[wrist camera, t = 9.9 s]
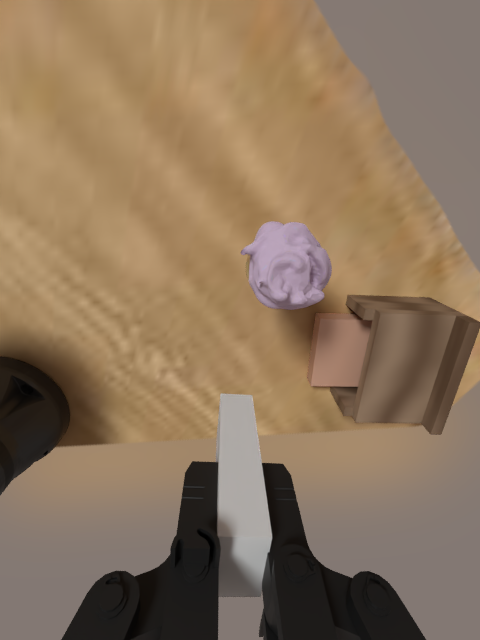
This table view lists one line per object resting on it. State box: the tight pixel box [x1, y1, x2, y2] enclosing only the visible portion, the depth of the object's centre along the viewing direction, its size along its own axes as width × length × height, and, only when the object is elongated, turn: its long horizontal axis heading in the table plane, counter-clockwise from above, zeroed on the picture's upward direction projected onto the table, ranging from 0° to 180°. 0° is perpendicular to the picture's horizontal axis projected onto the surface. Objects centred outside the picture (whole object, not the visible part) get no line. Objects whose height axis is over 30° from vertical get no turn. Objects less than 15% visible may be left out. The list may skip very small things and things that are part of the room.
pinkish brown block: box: [307, 313, 373, 387], centre depth 38 cm, size 12×9×2 cm
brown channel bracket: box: [330, 295, 480, 435], centre depth 35 cm, size 10×13×8 cm
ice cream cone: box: [241, 221, 332, 310], centre depth 26 cm, size 7×6×15 cm
